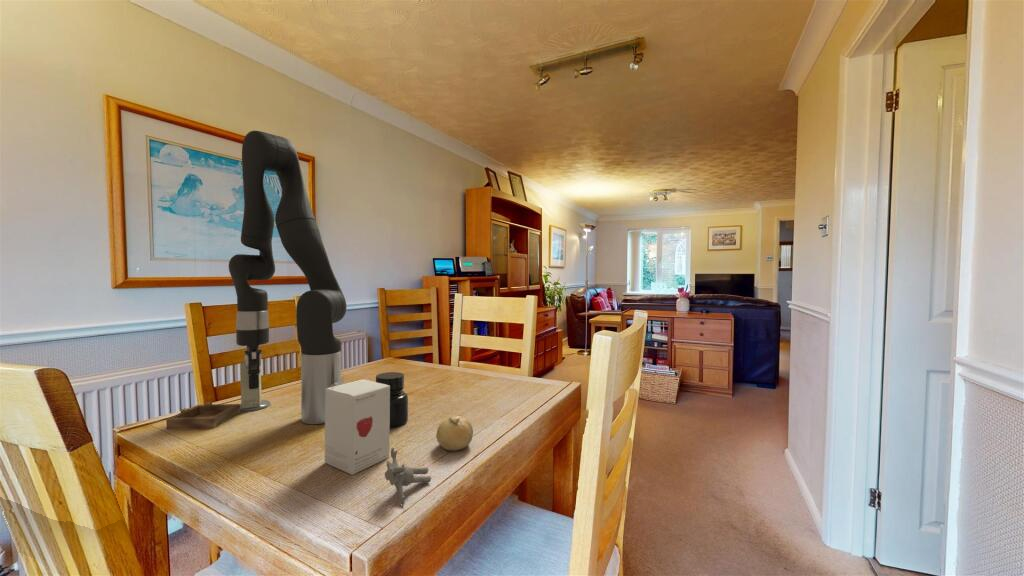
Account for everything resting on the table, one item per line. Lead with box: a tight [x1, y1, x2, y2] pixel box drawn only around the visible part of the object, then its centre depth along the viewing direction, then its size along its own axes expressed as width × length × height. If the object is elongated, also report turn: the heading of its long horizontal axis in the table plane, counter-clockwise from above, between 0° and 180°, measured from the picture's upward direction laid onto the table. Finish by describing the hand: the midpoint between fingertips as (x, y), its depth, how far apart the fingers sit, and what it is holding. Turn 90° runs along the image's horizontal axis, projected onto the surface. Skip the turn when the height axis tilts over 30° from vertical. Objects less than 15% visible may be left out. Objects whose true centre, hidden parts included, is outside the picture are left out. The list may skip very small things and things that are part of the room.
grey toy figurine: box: [384, 447, 433, 505], centre depth 67 cm, size 10×6×9 cm
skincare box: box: [239, 360, 263, 409], centre depth 107 cm, size 6×4×12 cm
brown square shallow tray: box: [165, 401, 241, 430], centre depth 97 cm, size 10×10×3 cm
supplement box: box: [324, 378, 391, 476], centre depth 77 cm, size 9×9×15 cm
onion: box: [435, 415, 474, 451], centre depth 84 cm, size 8×8×7 cm
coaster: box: [239, 399, 271, 413], centre depth 107 cm, size 8×8×1 cm
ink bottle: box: [375, 371, 409, 429], centre depth 97 cm, size 10×9×12 cm
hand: (253, 385), depth 107 cm, fingers open, 8 cm apart
